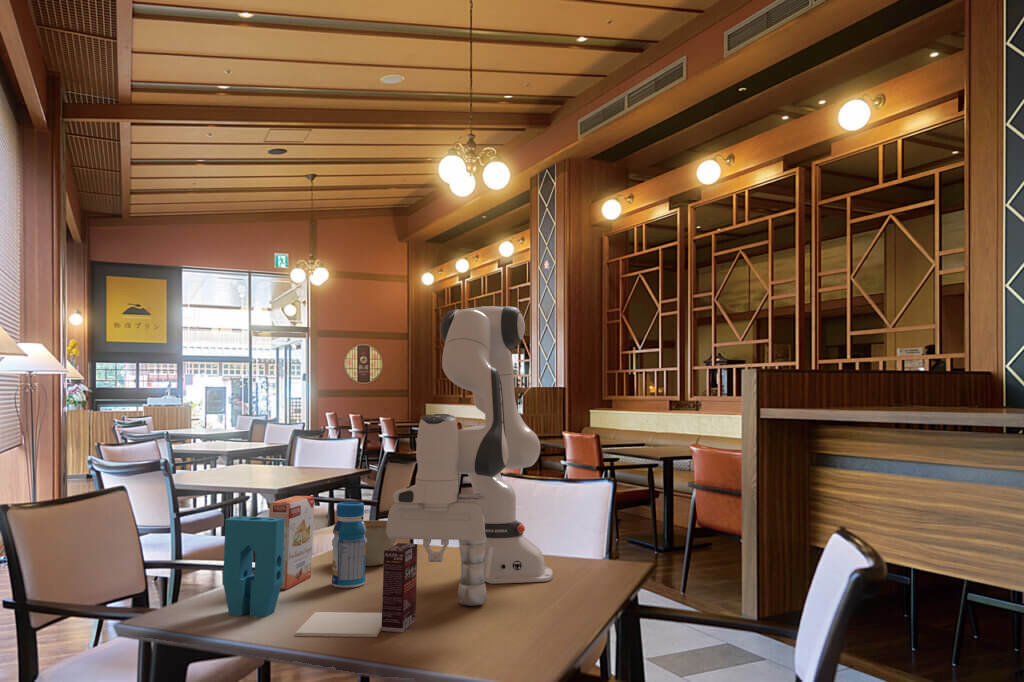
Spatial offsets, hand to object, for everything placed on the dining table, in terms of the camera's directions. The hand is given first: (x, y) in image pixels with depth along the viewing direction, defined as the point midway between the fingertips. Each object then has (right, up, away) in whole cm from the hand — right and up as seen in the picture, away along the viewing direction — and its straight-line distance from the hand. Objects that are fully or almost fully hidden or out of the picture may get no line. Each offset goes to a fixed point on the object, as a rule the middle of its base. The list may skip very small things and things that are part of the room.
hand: (435, 561), depth 151 cm
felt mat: (-18, -13, -1) cm, 23 cm away
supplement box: (-7, -13, -1) cm, 15 cm away
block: (-40, -14, +8) cm, 43 cm away
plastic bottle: (+7, -15, +15) cm, 22 cm away
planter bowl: (-25, -18, +56) cm, 64 cm away
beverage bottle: (-25, -16, +32) cm, 44 cm away
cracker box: (-40, -16, +33) cm, 54 cm away
